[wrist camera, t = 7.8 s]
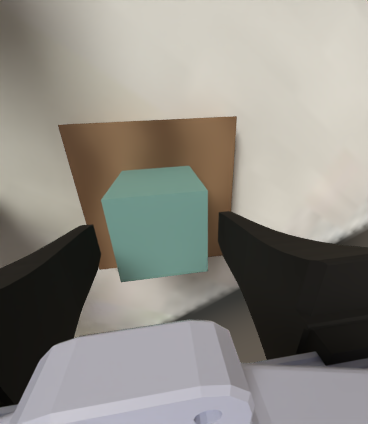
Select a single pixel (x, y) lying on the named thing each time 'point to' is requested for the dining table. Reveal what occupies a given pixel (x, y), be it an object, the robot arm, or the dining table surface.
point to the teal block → (158, 222)
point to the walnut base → (150, 163)
